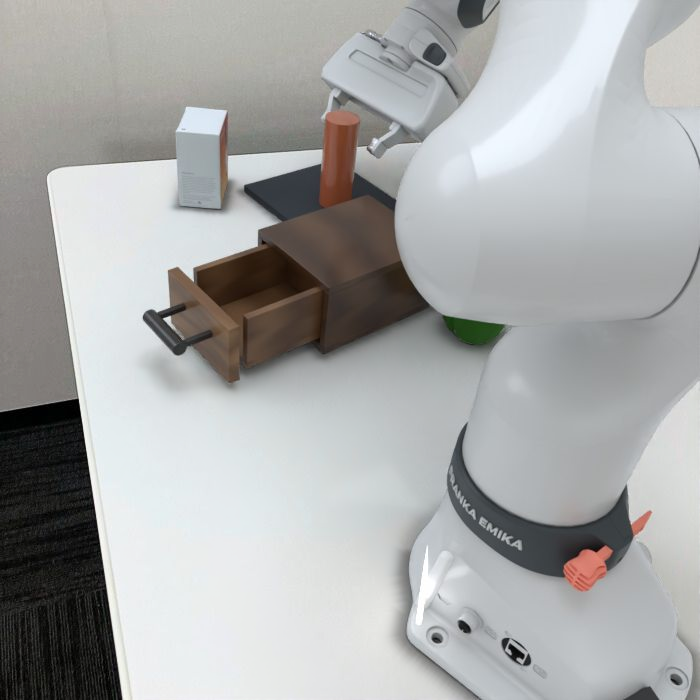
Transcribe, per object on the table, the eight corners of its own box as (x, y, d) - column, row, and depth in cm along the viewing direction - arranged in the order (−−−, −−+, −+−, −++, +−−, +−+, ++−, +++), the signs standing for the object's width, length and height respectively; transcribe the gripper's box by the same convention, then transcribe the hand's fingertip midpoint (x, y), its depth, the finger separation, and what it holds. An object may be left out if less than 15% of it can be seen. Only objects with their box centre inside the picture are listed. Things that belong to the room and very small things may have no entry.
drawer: (189, 401, 73) (186, 346, 69) (132, 337, 79) (126, 283, 75) (344, 334, 83) (350, 282, 79) (283, 281, 89) (285, 231, 85)
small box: (221, 210, 102) (220, 135, 95) (178, 206, 102) (174, 131, 95) (229, 181, 108) (228, 109, 101) (188, 178, 108) (185, 105, 101)
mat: (427, 227, 104) (428, 220, 103) (333, 261, 95) (334, 254, 95) (335, 165, 115) (335, 159, 114) (243, 191, 106) (243, 184, 106)
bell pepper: (523, 342, 86) (546, 268, 80) (464, 361, 83) (483, 285, 76) (479, 300, 92) (497, 228, 85) (421, 317, 88) (435, 242, 82)
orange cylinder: (357, 205, 104) (367, 120, 97) (332, 213, 102) (339, 127, 94) (337, 191, 107) (345, 107, 99) (312, 199, 104) (318, 114, 97)
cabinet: (323, 354, 82) (329, 288, 76) (256, 294, 89) (257, 229, 83) (429, 307, 90) (442, 244, 84) (360, 255, 97) (368, 194, 91)
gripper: (351, 10, 102) (287, 95, 103) (462, 63, 90) (389, 159, 92) (373, 40, 107) (312, 121, 108) (480, 94, 96) (411, 184, 97)
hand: (348, 139), depth 100 cm, fingers open, 8 cm apart
